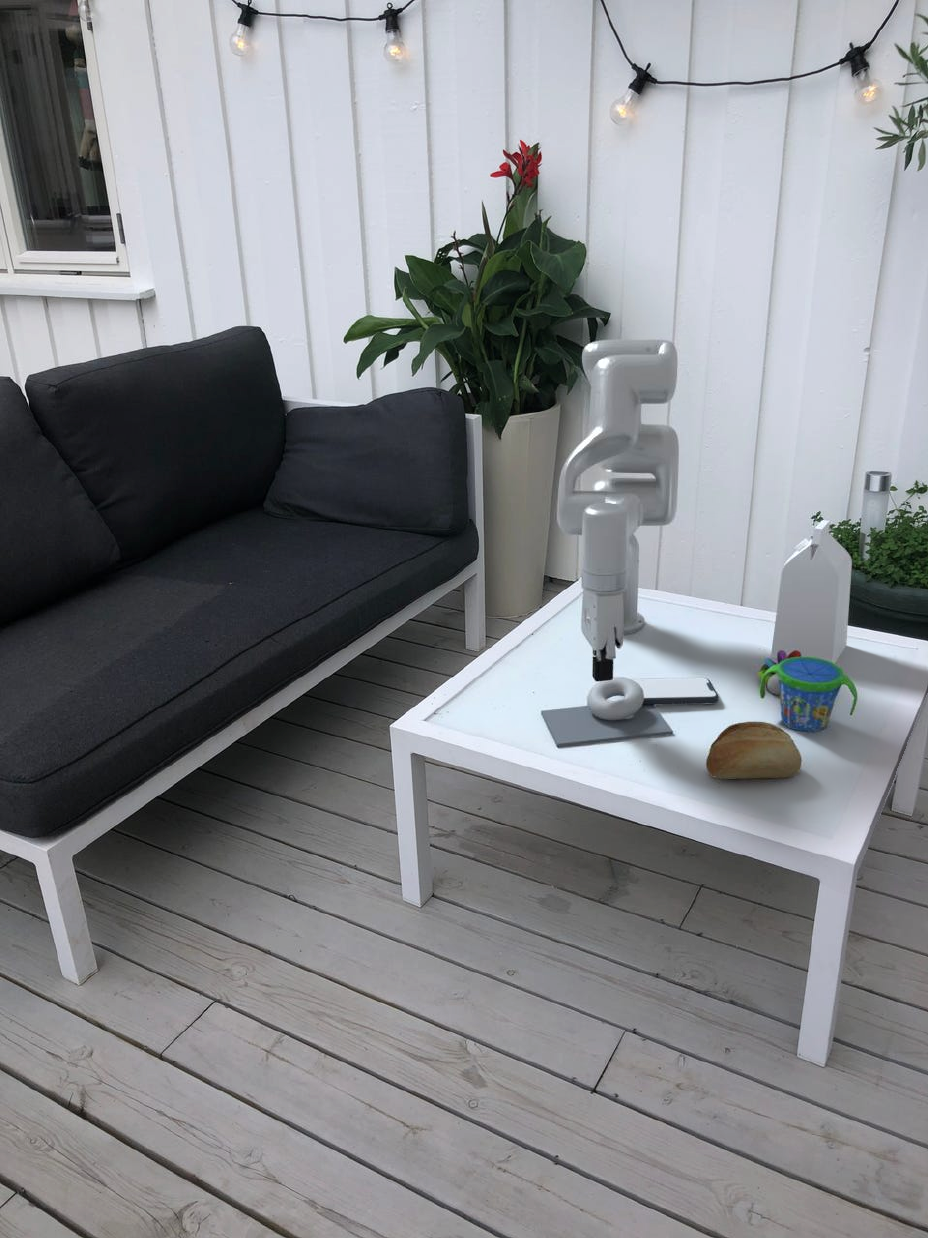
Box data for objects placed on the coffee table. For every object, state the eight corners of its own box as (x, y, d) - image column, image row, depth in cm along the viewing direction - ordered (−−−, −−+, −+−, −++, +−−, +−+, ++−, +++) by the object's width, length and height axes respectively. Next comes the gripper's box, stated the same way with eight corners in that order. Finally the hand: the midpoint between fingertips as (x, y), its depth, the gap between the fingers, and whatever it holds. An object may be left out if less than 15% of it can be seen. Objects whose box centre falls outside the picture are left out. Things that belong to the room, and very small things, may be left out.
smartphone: (629, 707, 178) (719, 705, 178) (630, 699, 177) (720, 697, 177) (621, 686, 186) (707, 684, 186) (621, 678, 186) (708, 676, 186)
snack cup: (860, 721, 172) (867, 667, 168) (843, 748, 164) (850, 692, 160) (769, 700, 180) (774, 648, 176) (749, 725, 172) (753, 671, 168)
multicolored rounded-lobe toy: (818, 696, 181) (822, 660, 178) (764, 698, 181) (767, 662, 178) (803, 675, 188) (807, 640, 186) (751, 677, 189) (754, 642, 186)
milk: (831, 668, 191) (846, 537, 181) (770, 657, 196) (782, 529, 186) (846, 645, 200) (861, 519, 190) (787, 635, 206) (799, 512, 196)
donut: (576, 712, 178) (619, 732, 171) (573, 696, 176) (616, 716, 169) (614, 681, 182) (657, 699, 175) (611, 666, 181) (654, 684, 173)
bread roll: (695, 762, 162) (697, 718, 158) (784, 753, 163) (789, 709, 160) (716, 794, 153) (719, 748, 150) (810, 785, 154) (815, 739, 151)
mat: (541, 713, 178) (541, 710, 178) (650, 702, 181) (650, 699, 180) (556, 747, 167) (556, 743, 167) (672, 734, 170) (672, 731, 169)
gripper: (571, 565, 172) (570, 662, 179) (594, 596, 159) (592, 700, 166) (613, 562, 173) (611, 658, 180) (640, 592, 160) (637, 696, 167)
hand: (602, 678), depth 173 cm, fingers closed
